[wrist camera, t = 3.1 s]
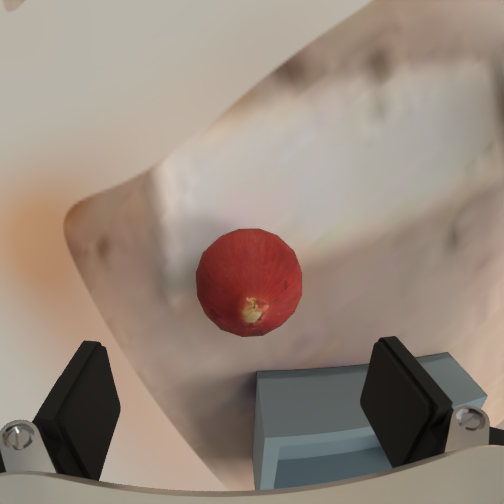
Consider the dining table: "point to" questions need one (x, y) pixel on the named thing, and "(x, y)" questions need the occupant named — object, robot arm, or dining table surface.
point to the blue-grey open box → (330, 422)
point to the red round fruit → (249, 282)
